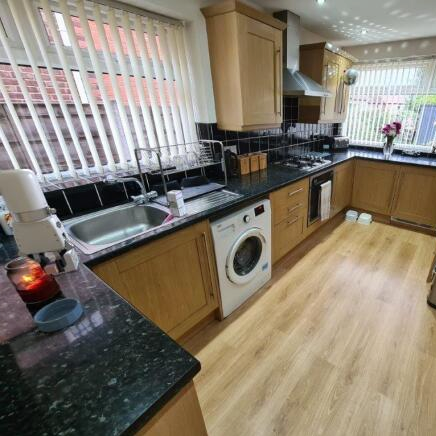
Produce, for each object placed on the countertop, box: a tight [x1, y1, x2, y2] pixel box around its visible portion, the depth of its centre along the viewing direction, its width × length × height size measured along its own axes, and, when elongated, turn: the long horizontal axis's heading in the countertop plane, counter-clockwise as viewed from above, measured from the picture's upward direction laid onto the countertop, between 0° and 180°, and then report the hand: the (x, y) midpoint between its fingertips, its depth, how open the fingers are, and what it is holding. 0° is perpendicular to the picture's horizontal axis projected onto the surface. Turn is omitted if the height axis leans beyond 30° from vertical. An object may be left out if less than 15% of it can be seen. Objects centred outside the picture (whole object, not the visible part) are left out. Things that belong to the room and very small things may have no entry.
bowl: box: [33, 297, 84, 333], centre depth 71 cm, size 10×10×4 cm
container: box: [44, 246, 79, 277], centre depth 93 cm, size 8×8×13 cm
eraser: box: [44, 259, 59, 276], centre depth 74 cm, size 5×3×3 cm, turn 22°
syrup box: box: [166, 189, 186, 218], centre depth 143 cm, size 6×6×14 cm
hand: (55, 269), depth 75 cm, fingers closed on eraser, 2 cm apart
